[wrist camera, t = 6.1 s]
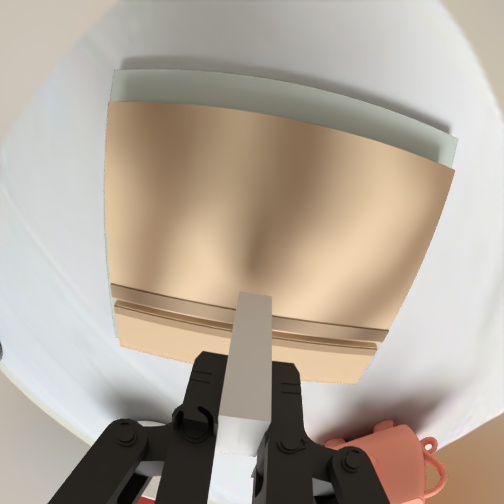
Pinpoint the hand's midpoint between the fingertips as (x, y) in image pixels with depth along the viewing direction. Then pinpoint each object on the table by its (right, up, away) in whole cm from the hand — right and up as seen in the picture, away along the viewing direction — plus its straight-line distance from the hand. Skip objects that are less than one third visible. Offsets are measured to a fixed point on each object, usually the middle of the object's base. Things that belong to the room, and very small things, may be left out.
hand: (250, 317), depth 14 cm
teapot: (+14, -20, +15) cm, 29 cm away
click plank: (+1, +4, +2) cm, 5 cm away
